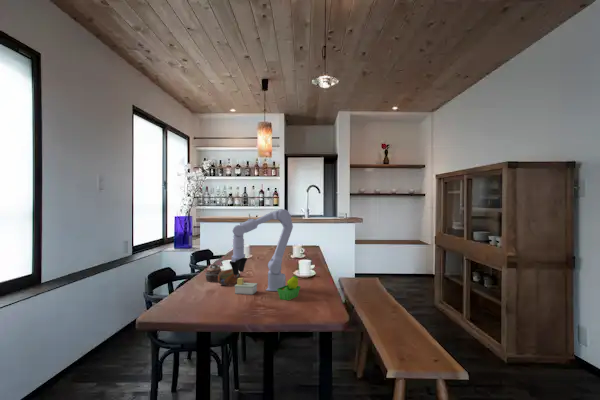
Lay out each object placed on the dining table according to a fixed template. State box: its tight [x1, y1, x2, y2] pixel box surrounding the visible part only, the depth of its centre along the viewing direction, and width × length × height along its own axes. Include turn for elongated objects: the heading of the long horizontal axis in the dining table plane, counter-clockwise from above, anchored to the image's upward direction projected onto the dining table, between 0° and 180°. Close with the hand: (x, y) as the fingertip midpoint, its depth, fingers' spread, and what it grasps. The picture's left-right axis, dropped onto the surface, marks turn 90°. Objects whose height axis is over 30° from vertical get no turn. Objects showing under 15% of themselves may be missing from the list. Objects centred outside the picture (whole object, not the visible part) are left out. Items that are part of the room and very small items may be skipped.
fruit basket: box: [276, 275, 301, 301], centre depth 178 cm, size 11×9×11 cm
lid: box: [234, 277, 258, 288], centre depth 188 cm, size 10×7×5 cm
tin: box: [218, 268, 240, 286], centre depth 208 cm, size 15×3×8 cm, turn 143°
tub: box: [234, 285, 258, 296], centre depth 188 cm, size 10×7×4 cm
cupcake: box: [204, 263, 222, 283], centre depth 215 cm, size 10×10×10 cm
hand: (238, 273), depth 190 cm, fingers open, 7 cm apart
